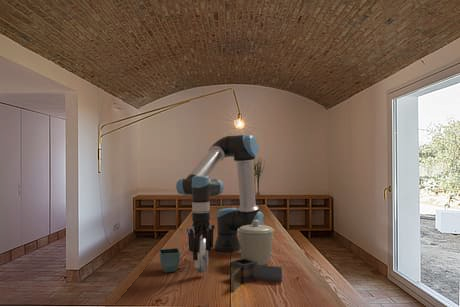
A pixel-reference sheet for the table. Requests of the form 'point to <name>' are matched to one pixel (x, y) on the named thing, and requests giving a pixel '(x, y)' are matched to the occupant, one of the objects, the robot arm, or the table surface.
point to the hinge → (252, 272)
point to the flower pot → (169, 259)
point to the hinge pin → (202, 255)
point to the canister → (256, 242)
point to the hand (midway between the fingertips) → (201, 266)
